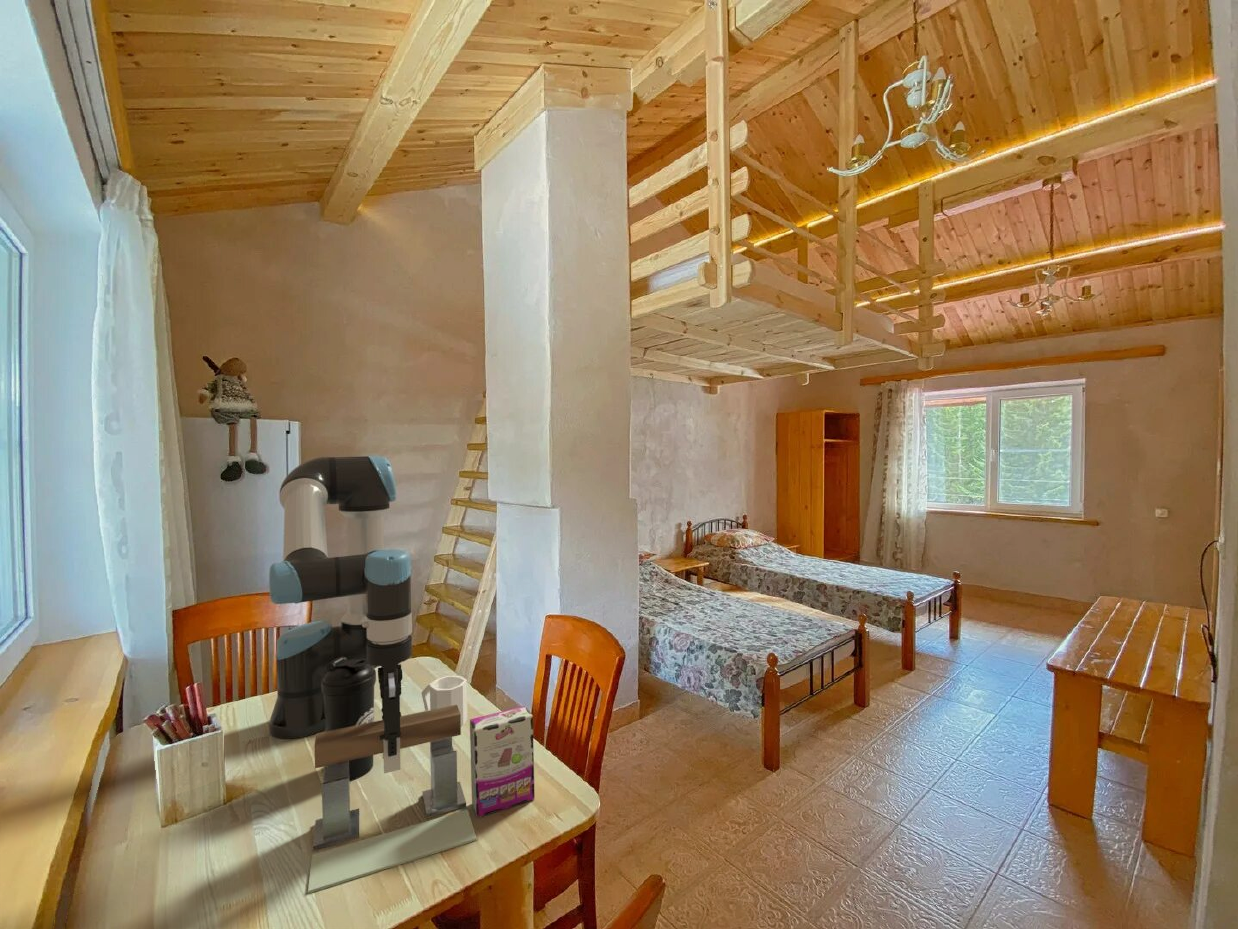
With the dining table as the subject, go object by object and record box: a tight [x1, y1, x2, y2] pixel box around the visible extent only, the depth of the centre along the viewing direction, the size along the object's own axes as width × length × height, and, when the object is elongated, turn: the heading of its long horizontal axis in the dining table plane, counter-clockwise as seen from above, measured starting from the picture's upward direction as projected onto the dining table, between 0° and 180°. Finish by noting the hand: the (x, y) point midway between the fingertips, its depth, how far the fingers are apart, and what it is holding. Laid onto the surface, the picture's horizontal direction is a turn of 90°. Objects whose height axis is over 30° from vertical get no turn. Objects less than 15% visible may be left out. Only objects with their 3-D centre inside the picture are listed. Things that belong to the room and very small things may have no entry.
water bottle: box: [321, 656, 377, 782], centre depth 112 cm, size 10×10×23 cm
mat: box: [307, 809, 477, 895], centre depth 90 cm, size 8×25×1 cm, turn 116°
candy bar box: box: [469, 705, 535, 818], centre depth 102 cm, size 11×5×16 cm, turn 117°
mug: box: [421, 675, 468, 727], centre depth 132 cm, size 12×9×10 cm
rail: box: [313, 705, 462, 769], centre depth 98 cm, size 4×24×4 cm, turn 116°
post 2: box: [421, 737, 467, 819], centre depth 102 cm, size 7×7×11 cm
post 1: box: [312, 761, 360, 852], centre depth 94 cm, size 7×7×11 cm
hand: (391, 762), depth 98 cm, fingers closed on rail, 4 cm apart
